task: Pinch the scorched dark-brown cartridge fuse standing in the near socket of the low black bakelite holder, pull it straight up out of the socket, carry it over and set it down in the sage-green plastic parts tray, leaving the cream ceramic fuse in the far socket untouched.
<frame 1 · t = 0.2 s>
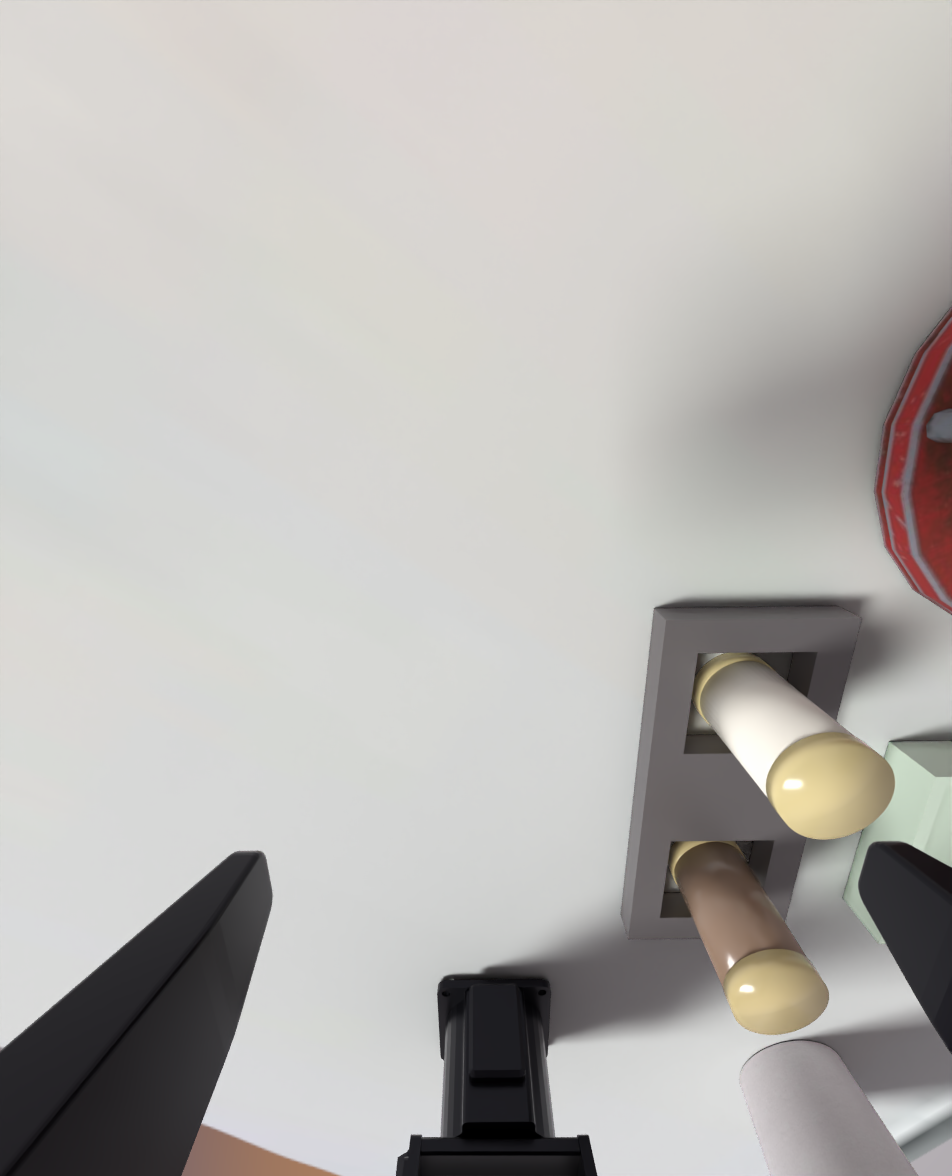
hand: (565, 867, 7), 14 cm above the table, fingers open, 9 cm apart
blown fuse: (702, 856, 26), resting in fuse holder
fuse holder: (716, 778, 24), on the table
coffee cup: (788, 1069, 32), on the table
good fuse: (731, 688, 23), resting in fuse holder
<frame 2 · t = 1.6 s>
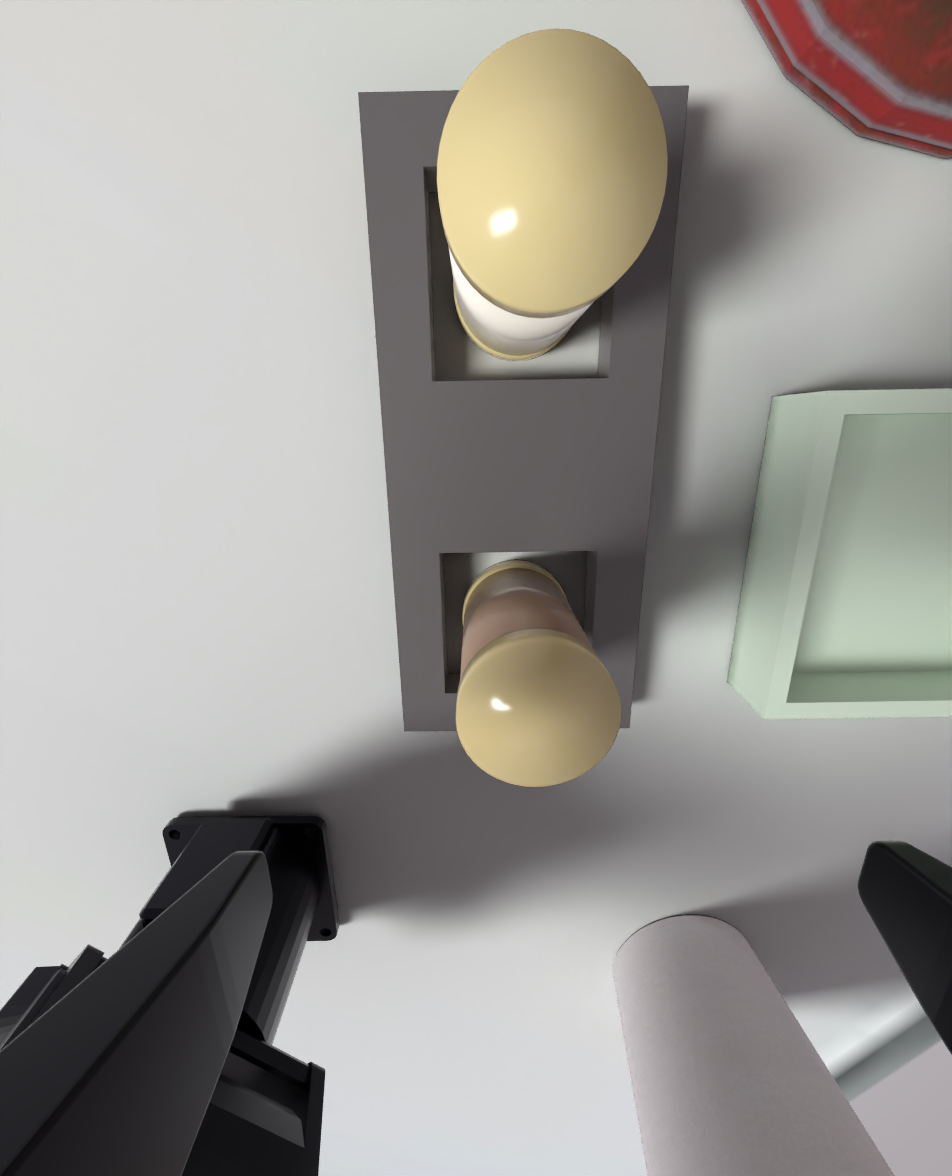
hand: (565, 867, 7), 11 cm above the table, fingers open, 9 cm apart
parts tray: (893, 549, 17), on the table
blown fuse: (514, 610, 18), resting in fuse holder
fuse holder: (515, 466, 16), on the table
coffee cup: (679, 961, 23), on the table
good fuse: (517, 292, 14), resting in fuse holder
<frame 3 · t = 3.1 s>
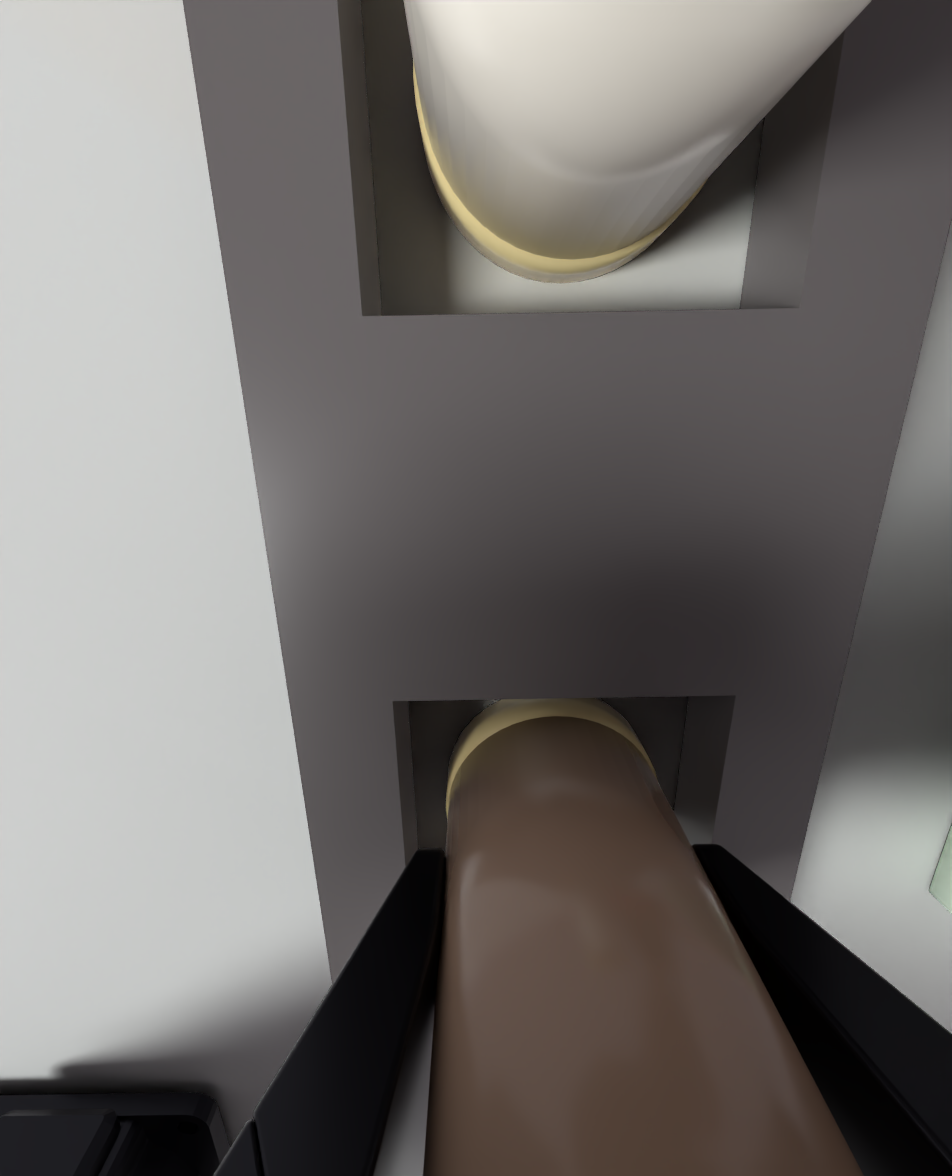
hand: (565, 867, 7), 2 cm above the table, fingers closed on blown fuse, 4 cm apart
blown fuse: (546, 775, 9), resting in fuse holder, touching gripper
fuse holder: (554, 511, 8), on the table
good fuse: (566, 116, 6), resting in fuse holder
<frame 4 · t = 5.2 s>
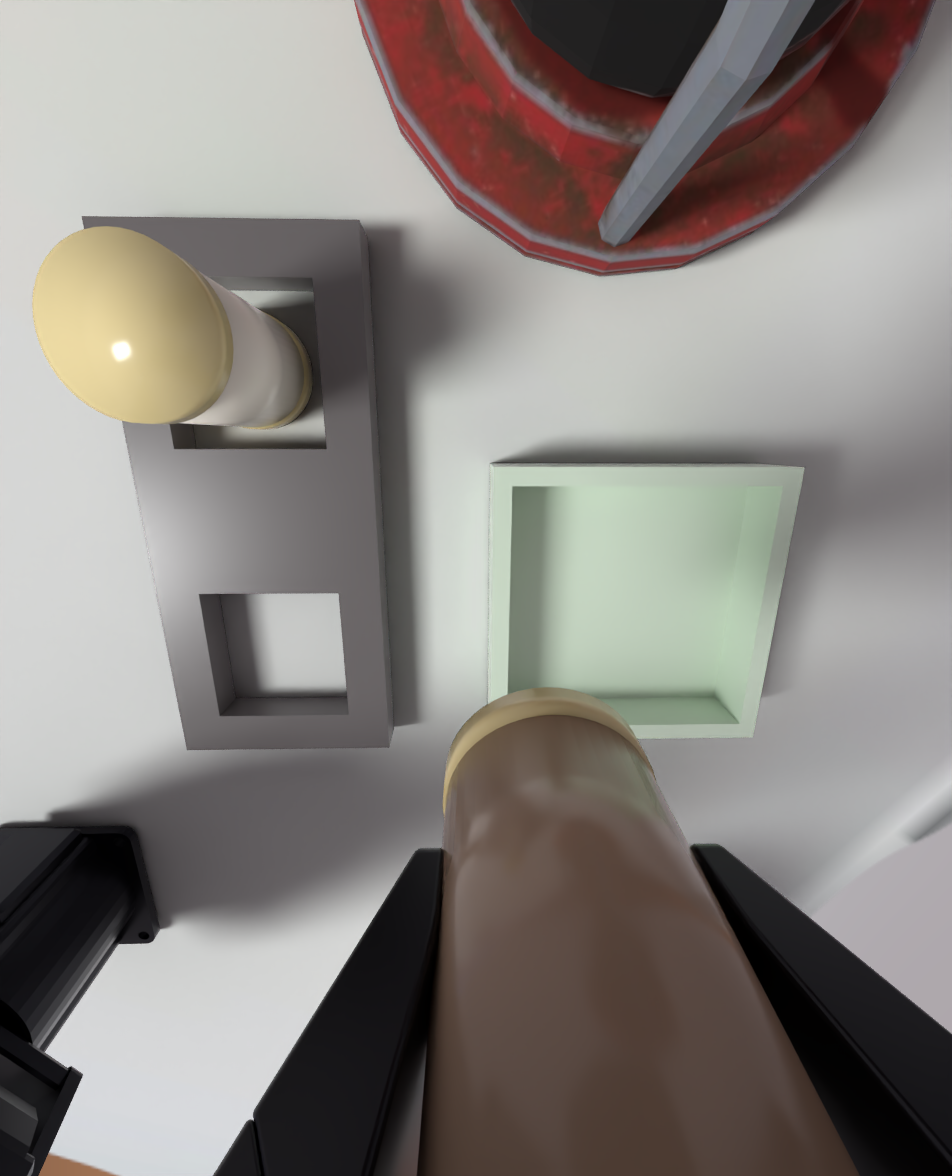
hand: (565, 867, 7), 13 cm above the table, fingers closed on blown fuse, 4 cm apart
parts tray: (614, 593, 19), on the table
blown fuse: (543, 774, 9), point 11 cm above the table, touching gripper
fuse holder: (275, 518, 18), on the table
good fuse: (258, 373, 17), resting in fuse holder
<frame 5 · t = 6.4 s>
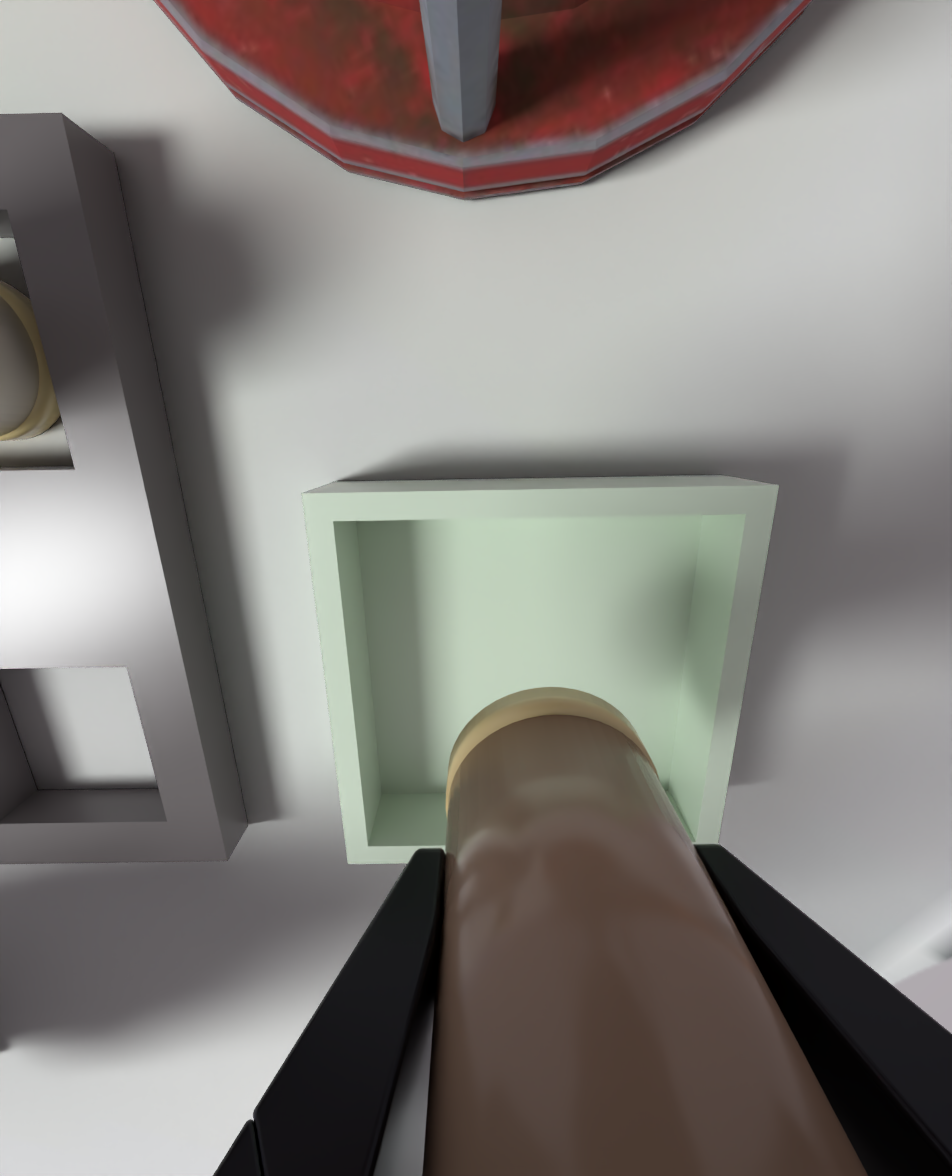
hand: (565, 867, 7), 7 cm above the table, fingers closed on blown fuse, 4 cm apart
parts tray: (524, 654, 14), on the table
blown fuse: (546, 774, 9), point 5 cm above the table, touching gripper
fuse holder: (48, 561, 13), on the table
when the fingers open (3 cm above the table, at t = 7.3 s): blown fuse stays where it is, resting on parts tray.
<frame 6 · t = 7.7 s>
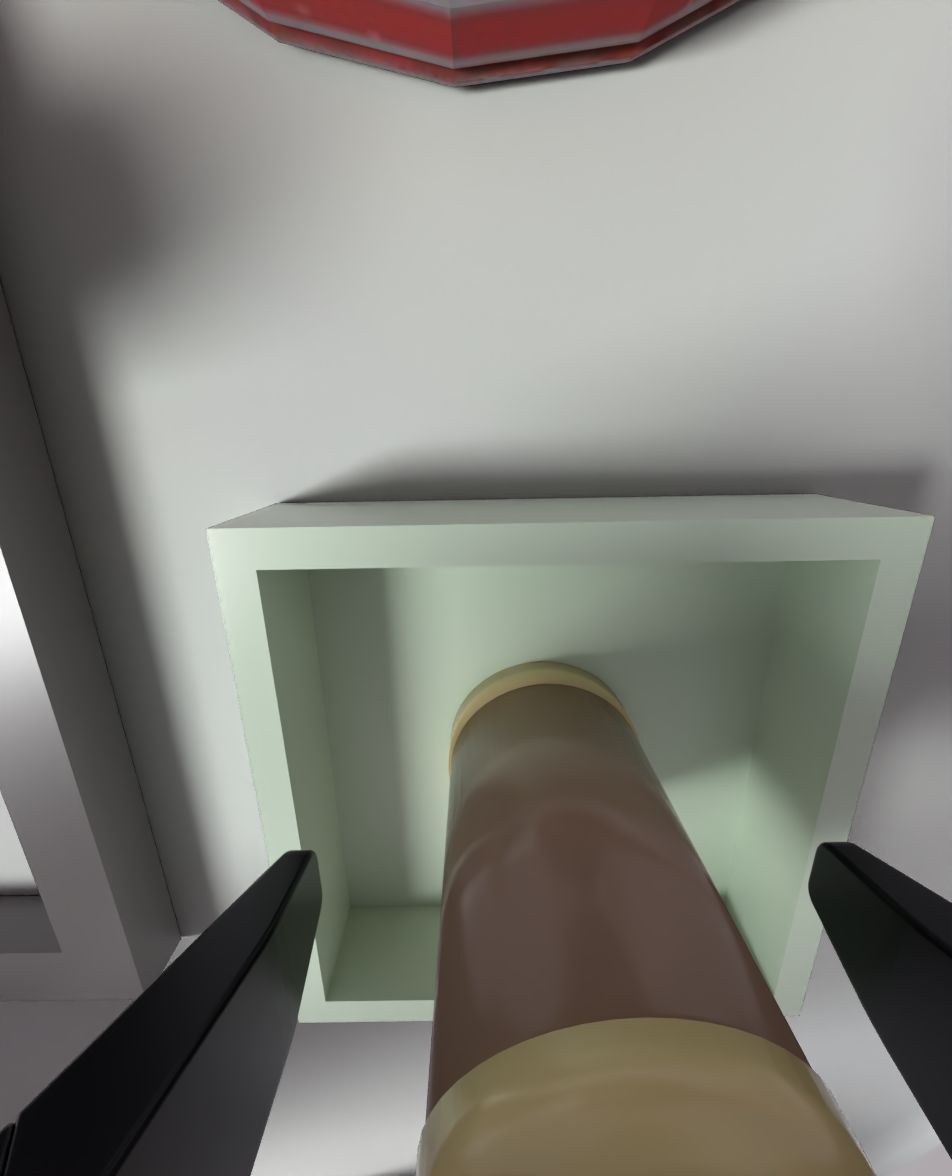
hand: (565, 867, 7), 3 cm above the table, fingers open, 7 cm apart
parts tray: (538, 730, 11), on the table
blown fuse: (539, 742, 10), point 1 cm above the table, touching parts tray
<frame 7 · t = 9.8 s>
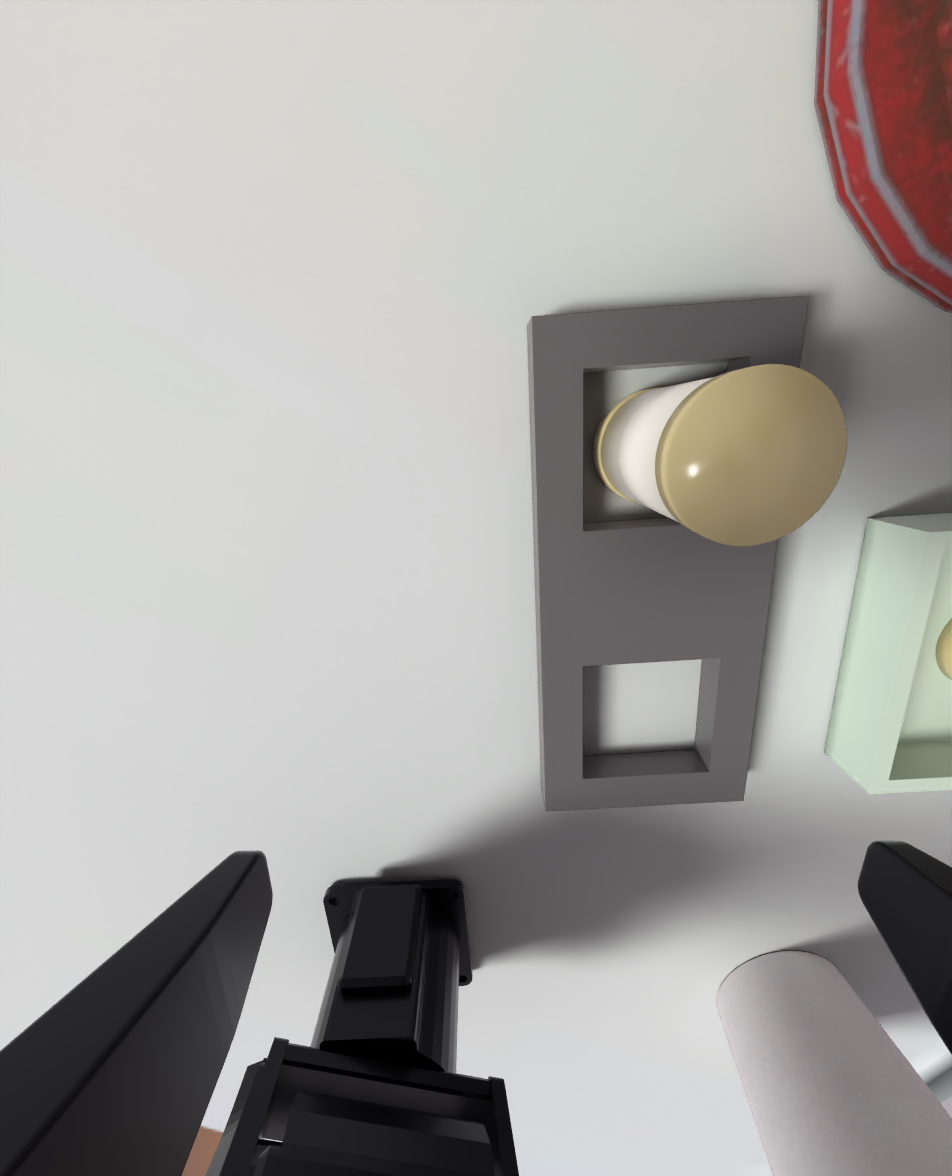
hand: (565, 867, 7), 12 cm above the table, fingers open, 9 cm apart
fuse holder: (641, 585, 18), on the table
coffee cup: (776, 990, 26), on the table
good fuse: (647, 446, 17), resting in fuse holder
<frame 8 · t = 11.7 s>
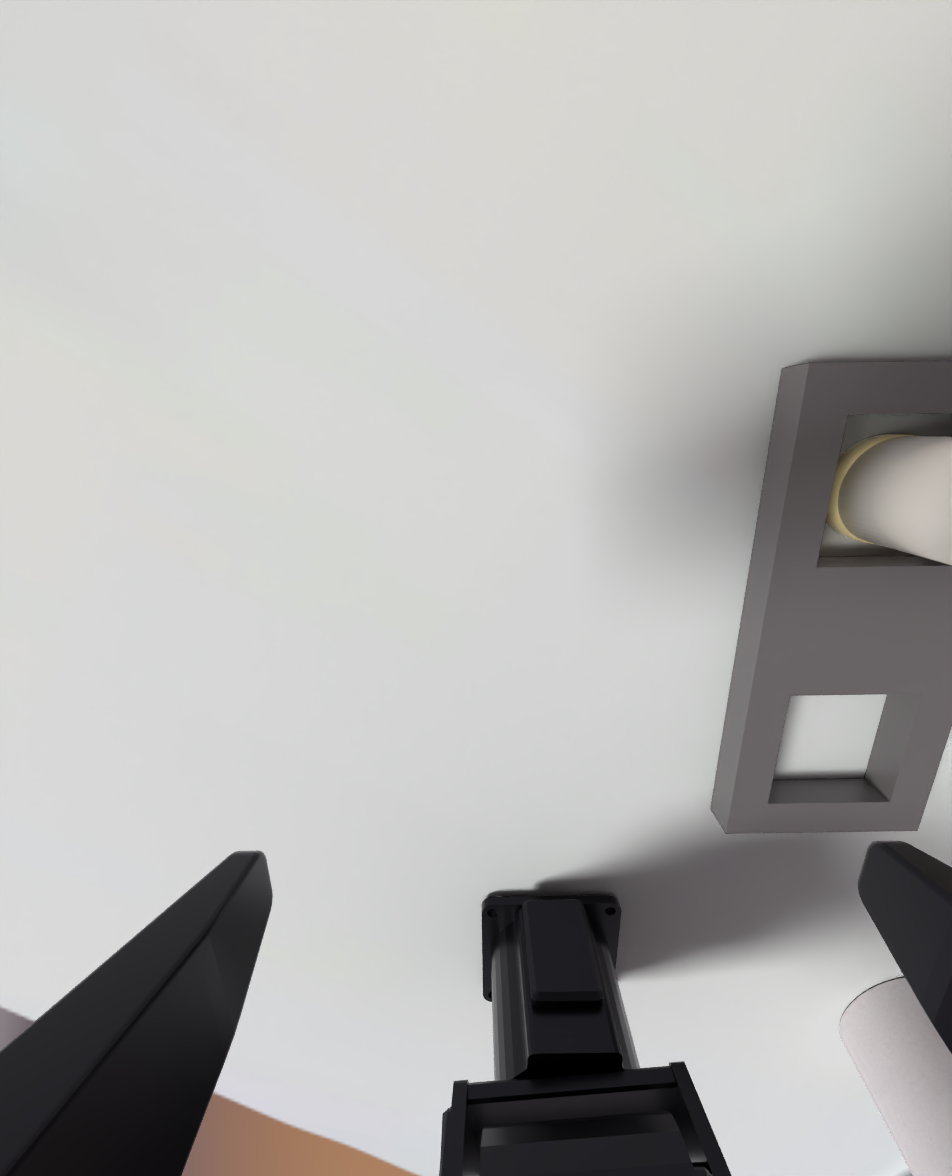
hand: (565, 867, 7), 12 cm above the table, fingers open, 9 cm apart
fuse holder: (843, 619, 19), on the table
coffee cup: (897, 1014, 26), on the table
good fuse: (873, 488, 17), resting in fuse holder
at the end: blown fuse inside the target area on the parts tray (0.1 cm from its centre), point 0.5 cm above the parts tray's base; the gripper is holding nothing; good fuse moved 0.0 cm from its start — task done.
